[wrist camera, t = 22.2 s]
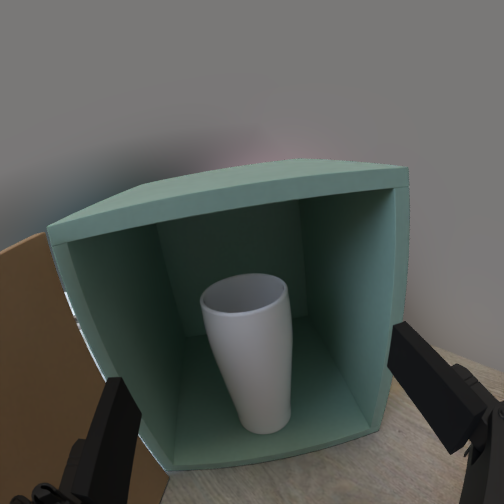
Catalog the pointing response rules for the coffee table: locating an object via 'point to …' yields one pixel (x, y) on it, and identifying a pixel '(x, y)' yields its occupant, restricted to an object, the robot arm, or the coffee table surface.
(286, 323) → the drinking glass
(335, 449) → the coffee table surface
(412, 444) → the coffee table surface
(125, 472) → the robot arm
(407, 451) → the coffee table surface
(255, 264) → the box
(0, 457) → the fridge door
